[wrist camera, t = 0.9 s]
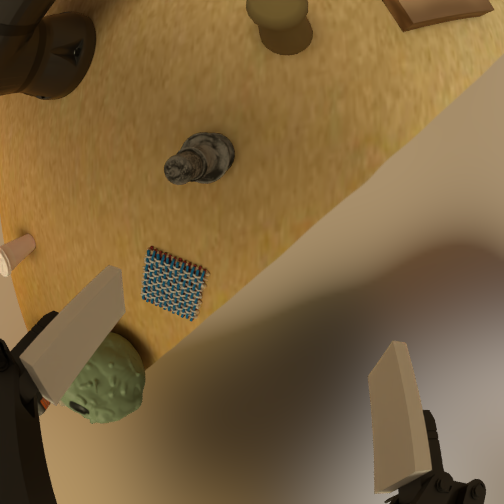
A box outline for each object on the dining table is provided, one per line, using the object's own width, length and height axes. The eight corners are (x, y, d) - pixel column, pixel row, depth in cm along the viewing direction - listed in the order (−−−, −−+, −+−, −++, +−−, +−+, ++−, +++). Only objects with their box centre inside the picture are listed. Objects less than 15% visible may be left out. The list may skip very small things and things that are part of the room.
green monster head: (146, 381, 60) (109, 448, 42) (82, 331, 57) (34, 390, 39) (175, 356, 52) (132, 440, 35) (99, 295, 49) (35, 365, 32)
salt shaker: (200, 123, 32) (150, 131, 22) (244, 141, 32) (211, 154, 22) (185, 166, 35) (134, 192, 25) (226, 184, 35) (189, 217, 25)
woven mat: (143, 294, 47) (138, 301, 45) (149, 242, 42) (143, 248, 40) (198, 318, 47) (194, 326, 45) (212, 267, 42) (208, 274, 40)
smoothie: (35, 230, 46) (-13, 263, 34) (41, 258, 49) (-3, 292, 37) (20, 225, 47) (-26, 255, 34) (25, 252, 50) (-17, 283, 37)
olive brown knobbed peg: (287, 2, 23) (276, -39, 14) (323, 35, 25) (329, 2, 15) (248, 31, 26) (221, -1, 16) (284, 65, 27) (272, 42, 18)
